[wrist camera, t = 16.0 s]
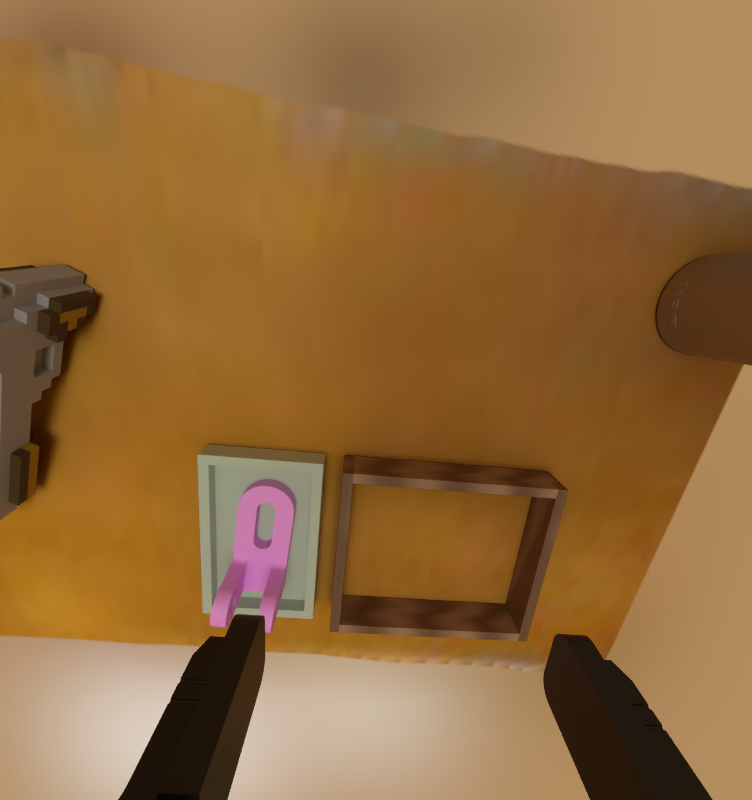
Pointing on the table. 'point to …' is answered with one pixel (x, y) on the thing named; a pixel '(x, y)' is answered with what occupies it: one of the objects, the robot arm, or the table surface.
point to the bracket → (258, 554)
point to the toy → (32, 361)
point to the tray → (260, 520)
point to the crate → (452, 615)
